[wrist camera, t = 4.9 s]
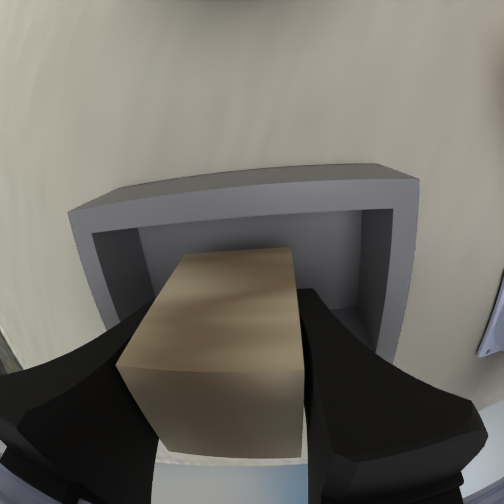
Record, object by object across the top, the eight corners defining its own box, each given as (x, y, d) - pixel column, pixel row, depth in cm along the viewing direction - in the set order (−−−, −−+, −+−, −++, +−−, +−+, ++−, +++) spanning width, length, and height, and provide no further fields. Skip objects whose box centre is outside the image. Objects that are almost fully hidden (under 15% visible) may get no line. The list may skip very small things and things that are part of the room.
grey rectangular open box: (376, 163, 12) (419, 179, 8) (368, 314, 16) (391, 367, 12) (118, 188, 14) (67, 212, 10) (154, 323, 17) (126, 373, 13)
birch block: (290, 246, 11) (304, 369, 5) (294, 332, 12) (301, 457, 7) (185, 254, 11) (115, 364, 5) (204, 335, 13) (168, 451, 7)
